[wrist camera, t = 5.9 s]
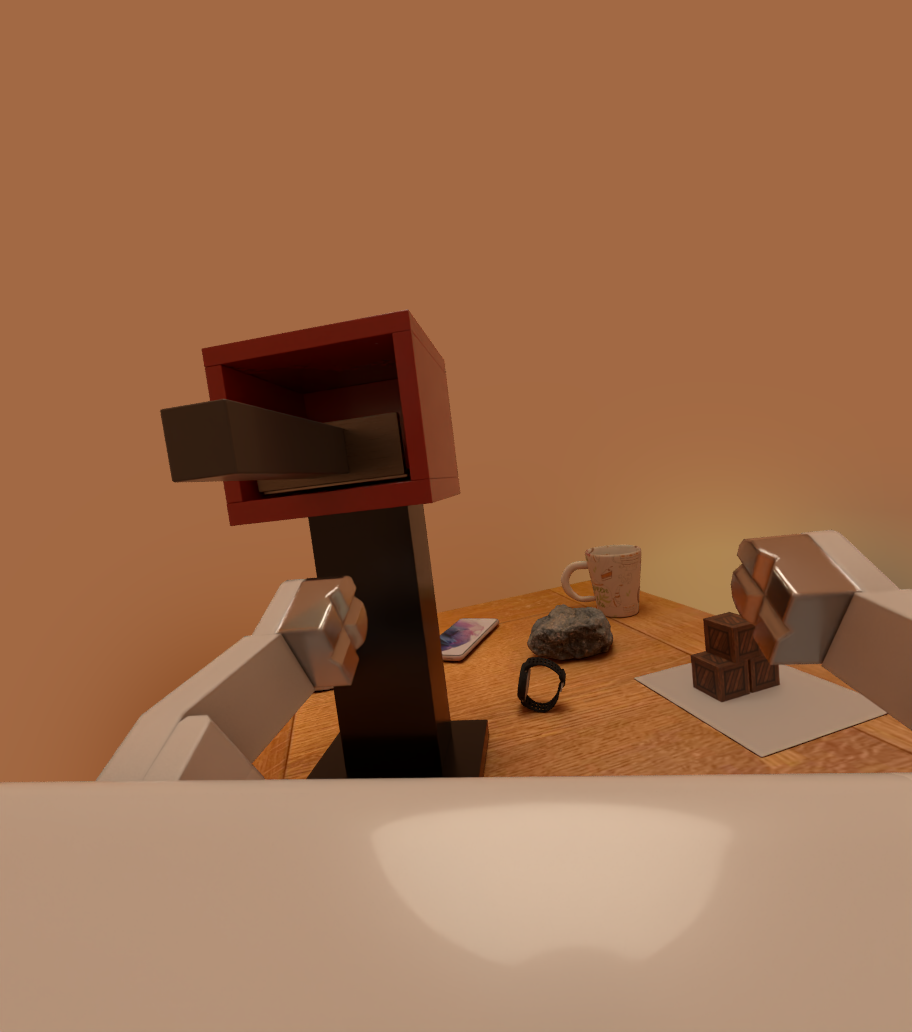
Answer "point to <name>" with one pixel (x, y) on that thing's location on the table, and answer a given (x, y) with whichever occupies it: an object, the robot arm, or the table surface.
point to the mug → (610, 579)
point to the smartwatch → (524, 683)
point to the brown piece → (281, 448)
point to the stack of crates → (756, 692)
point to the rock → (570, 633)
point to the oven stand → (368, 531)
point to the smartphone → (464, 637)
